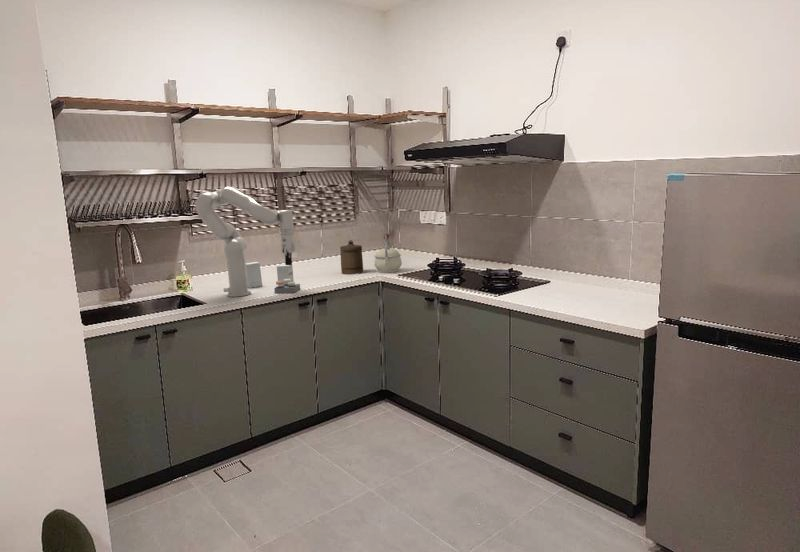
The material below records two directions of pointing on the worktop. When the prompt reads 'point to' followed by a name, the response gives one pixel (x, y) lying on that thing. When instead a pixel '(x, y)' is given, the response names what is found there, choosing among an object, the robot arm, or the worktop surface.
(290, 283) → the sage button
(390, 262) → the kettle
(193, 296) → the worktop surface
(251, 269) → the skincare box
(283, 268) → the supplement box
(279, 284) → the terracotta button
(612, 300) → the worktop surface
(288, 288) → the button panel
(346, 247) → the wooden container
